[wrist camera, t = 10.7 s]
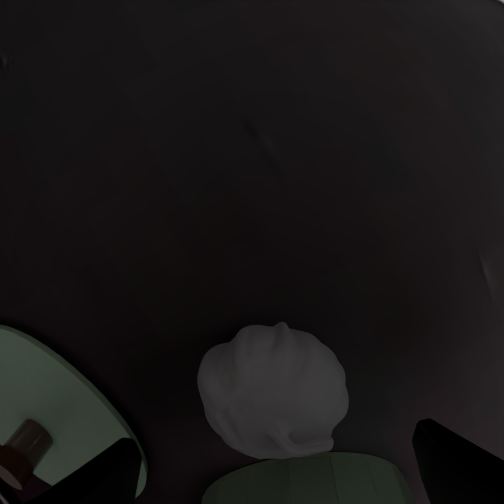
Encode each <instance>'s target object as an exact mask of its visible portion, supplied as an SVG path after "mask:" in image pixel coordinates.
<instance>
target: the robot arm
mask: <svg viewBox="0 0 504 504" xmlns="http://www.w3.org/2000/svg"><path fill="white" fill-rule="evenodd" d="M412 443H413V447H414V451H415V455H416V459H417V463H418V467H419V471H420V475H421V478H422V481H423V484H424V487H425V490H426V492H427V495H428V497H429V500H430V503H431V504H504V460H502V459H500V458H498V457H496V456H495V455H493V454H491V453H489V452H487V451H486V450H484V449H482V448H480V447H478V446H477V445H475V444H473V443H471V442H470V441H468V440H466V439H464V438H463V437H461V436H459V435H458V434H456V433H454V432H452V431H451V430H449V429H447V428H446V427H444V426H442V425H441V424H439V423H437V422H436V421H434V420H432V419H430V418H428V419H424V420H420V421H419V422H418V423H417V425H416V428H415V432H414V435H413V439H412ZM141 463H142V455H141V452H140V450H139V448H138V446H137V443H136V441H135V440H134V439H132V438H125V437H123V438H120V439H119V440H118V441H116V442H115V443H114V444H112V445H111V446H109V447H108V448H107V449H105V450H104V451H102V452H101V453H100V454H98V455H97V456H95V457H94V458H93V459H91V460H90V461H88V462H87V463H85V464H84V465H83V466H81V467H80V468H78V469H77V470H75V471H74V472H72V473H71V474H69V475H68V476H66V477H65V478H63V479H62V480H60V481H59V482H57V483H56V484H54V485H53V486H51V487H50V488H48V489H47V490H45V491H43V492H42V493H40V494H39V495H37V496H35V497H34V498H32V499H30V500H28V501H26V502H24V503H22V504H133V503H134V500H135V496H136V491H137V485H138V480H139V474H140V468H141Z"/></svg>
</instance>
